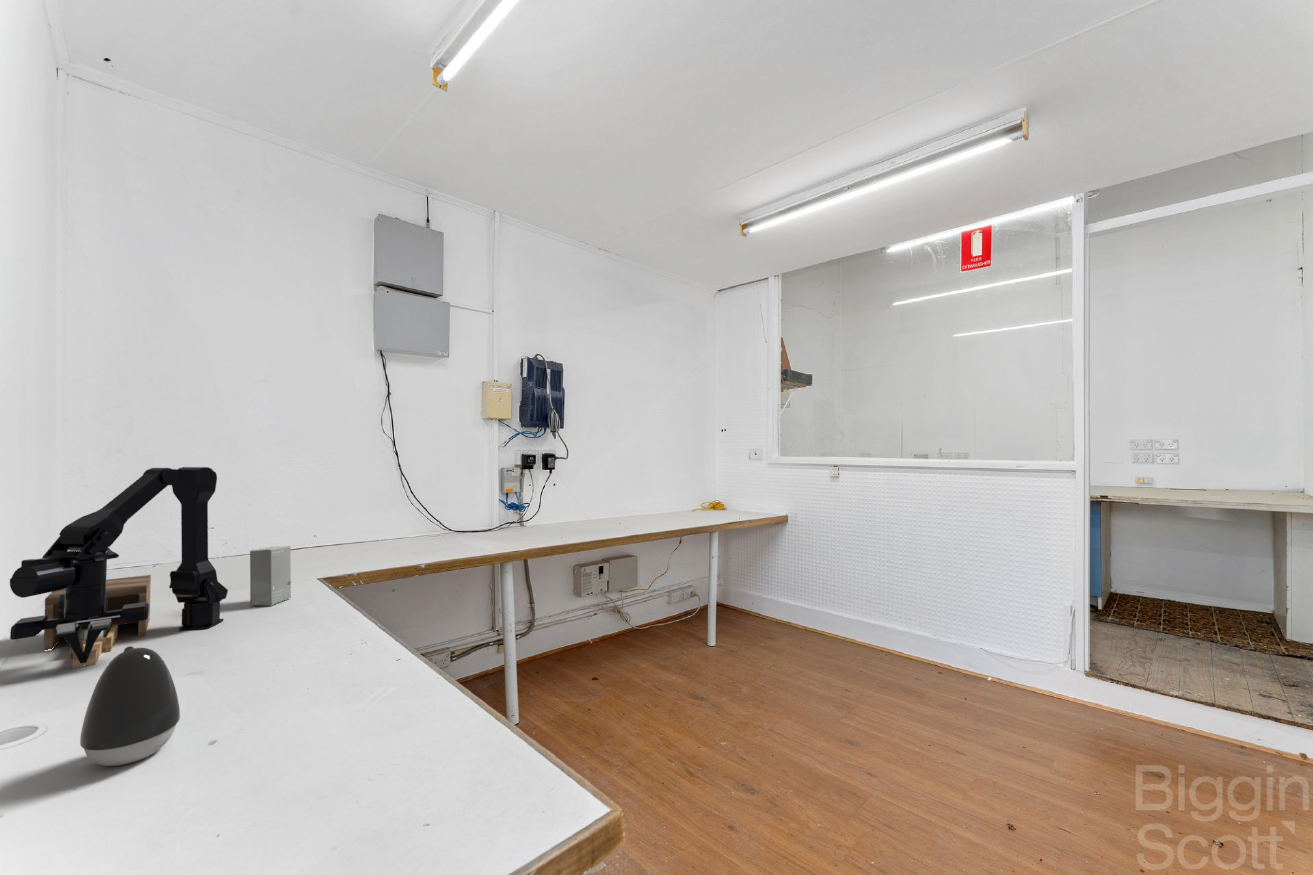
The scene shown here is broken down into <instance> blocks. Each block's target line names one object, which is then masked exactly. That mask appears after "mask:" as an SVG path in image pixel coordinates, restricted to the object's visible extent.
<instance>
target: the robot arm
mask: <svg viewBox="0 0 1313 875" xmlns="http://www.w3.org/2000/svg"><path fill="white" fill-rule="evenodd" d="M217 480H218V475H217V472H216V471H214V470H213V469H212V468H211V467H208V466H207V467H206V466H183V467H182V466H181V467H178V468H177V469H175V468H170V467H150V468H149V469H147V470H144V472H143V474H142V475H141V476H140V477H139V478H138V479H136V480H135V481H134V482H133V483H131V484H130V485H129V486H128V487H127V488H125V489H123V491H122V492H120V493H119V494H118V495H116V496H115V497H113V499H111V500H110V501H109V502H108V503H107V504H105V505H104V506H103V507H101V508H100V509H98V510H96V511H93V512H91V513H88V514H85V515H82V516H81V517H79V518H77V519H76V520H74V521H72V522H70V523H69V524H67V525H65V526H64V527H63V528H62V529H61V531H60V532H59V533H58V534H59V536H58V538H56V540H55V541H54V542H53V544H51V546H50V547H49V548H48V550H47V551H46V552H44V553H45V554H43V556H42V558H30V559H22V561H21V564H20V565H21V566H20V567H18V568H17V569H16V570H15V571H13V574H12V576H11V577H10V579H9V586H10V590H11V591H12V593H13V594H14V596H16V597H19V598H22V599H23V598H25V599H26V598H30V597H34V596H39V595H42V594H43V595H45V594H50V593H52V592H53V591H58V590H63V589H65V594H64V595H60V597H59V604H58V610H59V611H64V617H63V618H56V619H49V620H48V618H47V615H45V614H44V615H37V616H29V617H24V618H23V617H22V618H20V619H19V620H17V621H16V622H15V623H14V624H13V625H12V626H11V627H10V631H9V632H10V636H9V637H10V638H9V639H10V640H21V639H27V638H34V637H36V636H38V635H39V634H40V633H41V632H42V631H44V630H47V629H53V628H56V630H57V634H56V637H61V638H63V639H64V641H66V642H67V643H68V645H69V646H70V647H72V649H73V651H74V653H75V654H76V656H77V658H78V660H79V662H80V663H86V662H87V660H88V657H89V655H90V653H91V650H92V648H93V646H94V643H95V641H96V640H97V638H98V636H99V635H100V633H101V631H103V630H108V629H109V628H110V626H111V623H112V620H116V619H122V620H123V621H125V622H126V623H129V622H135V621H142V620H146V619H148V616H149V604H148V603H147V602H142V603H134V604H127V605H124V606H123V609H122V610H114V611H107V612H105V610H107V607H108V597H107V595H106V580H107V574H108V573H107V571H108V570H107V566H108V564H107V563H108V560H111V559H117V558H119V557H120V554H119V553H117V552H114V551H112V549H110V547H111V546H112V545H113V544H114V542H116V540H118V538H119V537H120V536H121V534H123V531H124V527H125V524H126V523H127V521H128V520H130V519H131V518H132V517H133V516H135V514H136V513H138V512H139V511H140V510H141V509H142V508H143V507H145V506H146V505H147V504H148V503H150V502H151V501H152V500H153V499H154V498H155V497H156V496H157V495H159V494H160V493H161V492H162V491H163V490H165V489H166V488H167V487H168V486H171V488H172V493H173V495H174V496H175V497H176V499H177V500H178V501H179V502H180V506H181V507H180V510H181V511H180V513H181V514H180V515H181V517H180V518H181V522H180V523H181V524H180V526H181V534H180V536H181V562H180V564H179V566H178V567H177V569H176V570H171V571H170V573H169V579H170V583H169V586H168V588H169V589H171V591H172V594H173V595H175V598H176V601H177V603H178V604H180V603H181V604H182V603H183V608H182V609H181V626H179V628H178V630H179V631H185V630H186V631H187V630H200V629H201V630H202V629H204V630H206V629H211V628H212V627H213V626H216V625H218V624H220V623H222V622H224V618H221V617H220V616H221V602H222V601H223V600H225V599H227V595H228V593H229V589H228V588H226V587H225V586H224V585H223V584H221V583H220V582H219V581H218V580H219V579H218V576H217V575H218V574H217V570H216V568H215V567H214V566H213V564H212V563H211V561H210V560H209V514H208V512H209V510H208V509H209V508H208V503H209V501H210V499H211V498H212V497H213V495H214V494H215V492H216V487H217V482H218V481H217ZM90 618H91V619H90ZM74 620H75V621H74ZM76 620H77V621H76ZM70 621H71V622H70ZM88 623H90V625H91V626H90V628H89V630H88V633H87V639H86V644H85V649H84V647H83V640H82V625H81V624H88ZM135 623H136V622H135ZM129 624H130V623H129Z"/></svg>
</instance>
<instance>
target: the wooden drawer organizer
mask: <svg viewBox="0 0 1313 875" xmlns="http://www.w3.org/2000/svg"><path fill="white" fill-rule="evenodd" d="M151 576H152V575H151V574H146V575H145V574H144V575H137V576H128V577H127V576H126V577H120V578H119V577H118V578H110V579H106V595H107V597H108V607H107V610H105V612H107V611H114V610H122V609H123V606H124V605H127V604H134V603H142V602H147V603H148V604H149V616H148V619H146V620H142V621H135V622H129V624H134V623H135V624H136V623H138V627H137V628H138V631H137V632H138V634H137V637H145V636H146V634H147V630H148V627H149V624H150V620H151V619H150V618H151V617H150V615H151V581H152V580H151V578H152V577H151ZM64 594H65V589H63V590H58V591H53V592H50V593H49V594H48V595H47V596H46V597H45V598H44V615H47V618H48V620H49V619H56V618H63V617H64V611H59V610H58V604H59V597H60V595H64ZM90 619H91V618H90ZM74 621H75V620H74ZM76 621H77V620H76ZM70 622H71V621H70ZM89 624H90V623H88V624H81V625H82V629H87V628H88V625H89ZM114 624H118V626H120V625H127V624H126V622H125V621H123V620H122V619H116V620H112V623H111V625H114ZM56 634H57V630H56V628H53V629H47V630H43V651H44V650H48V649H52V648H53V647H54V646H55V645H56V646H57V644H58V643H59V641H60V640H61V639H60V638H62V637H56ZM59 639H60V640H59ZM57 642H58V643H57ZM56 643H57V644H56ZM56 646H55V647H56ZM55 647H54V648H55ZM54 648H53V649H54Z"/></svg>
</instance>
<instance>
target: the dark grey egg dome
mask: <svg viewBox="0 0 1313 875" xmlns="http://www.w3.org/2000/svg"><path fill="white" fill-rule="evenodd" d="M170 672H171V671H170V670H169V668H168V666H167V664H166V662H165V661H164V659H163V658H162V657H161V656H160V655H159V654H158V653H157V651H155V650H153V649H151V648H146V647H136V648H135V647H133V646H130V645H129V646H127V647H125V648H124V649H123V652H121V653H119V654H118V655H116V656H115V657H114V658H112V659H111V661H110V662H109V663H108V665H106V667H105V668H104V670H103V672H102V673H101V675H100V677H99V678H98V681H97V682H96V684H95V687H94V689H93V692H92V693H91V694H92V695H91V697H90V700H89V702H88V706H87V707H86V712H85V714H84V719H83V722H82V727H81V731H80V736H79V737H80V738H79V744H80V747H81V748H82V749H83V750H84V753H85V755H86V756H87V758H88V759H89V760H90V761H91V762H93V763H95V764H96V765H99V766H103V767H118V766H124V764H125V765H129V764H132V762H133V763H135V762H138V761H141V760H143V759H145V758H147V757H150V756H151V755H153V754H155V753H156V752H157V751H159V750H160V749H161V748H163V747H164V746H165V745H166V744H167V743H168V741H169V740H170V739H171V737H172V736H173V733H174V732H175V729H176V727H177V724H178V723H179V721H180V718H181V710H180V703H179V702H180V701H179V698H178V693H177V689H176V686H175V683H174V680H173V677H172V674H171V673H170Z"/></svg>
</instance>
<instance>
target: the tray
mask: <svg viewBox="0 0 1313 875" xmlns="http://www.w3.org/2000/svg"><path fill="white" fill-rule="evenodd" d="M90 626H91V625H90V624H89V625H88V628H87V629H82V640H83V647H84V649H85V644H86V639H87V633H88V630H89V628H90ZM118 632H119V625H118V624H114V625H111V626H110V628H109V629H108V630H103V631H101V633H100V635H99V636H98V638H97V640H96V641H95V643H94V646H93V648H92V650H91V653H90V655H89V657H88V660H87V662H86V663H80V662H79V660H78V658H77V656H76V654H75V653H74V651H73V649H72V647H71V646H70V651H69V652H70V653H69V654H70V656H69V657H73V658H72V668H73V667H77V668H82V667H81V666H83V667H85V666H84V665H88V666H93V664H94V665H96V664H97V663H98V661H99V659H100V657H101V655H102V654H103V653H102V652H104V653H109V652H111V651H112V650H113V648H114V645H115V644H116V641H117V639H118V636H119V633H118ZM112 647H113V648H112ZM111 649H112V650H111ZM100 654H101V655H100ZM99 656H100V657H99ZM98 658H99V659H98ZM97 660H98V661H97Z"/></svg>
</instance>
